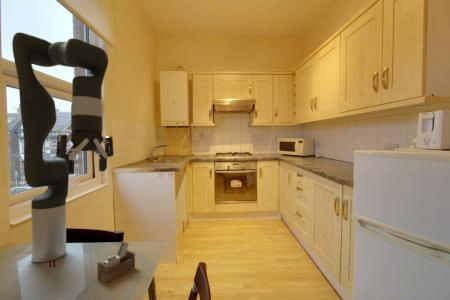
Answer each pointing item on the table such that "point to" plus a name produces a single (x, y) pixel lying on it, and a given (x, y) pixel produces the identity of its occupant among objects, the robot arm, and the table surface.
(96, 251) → the table surface
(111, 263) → the lighter
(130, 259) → the open wooden box
